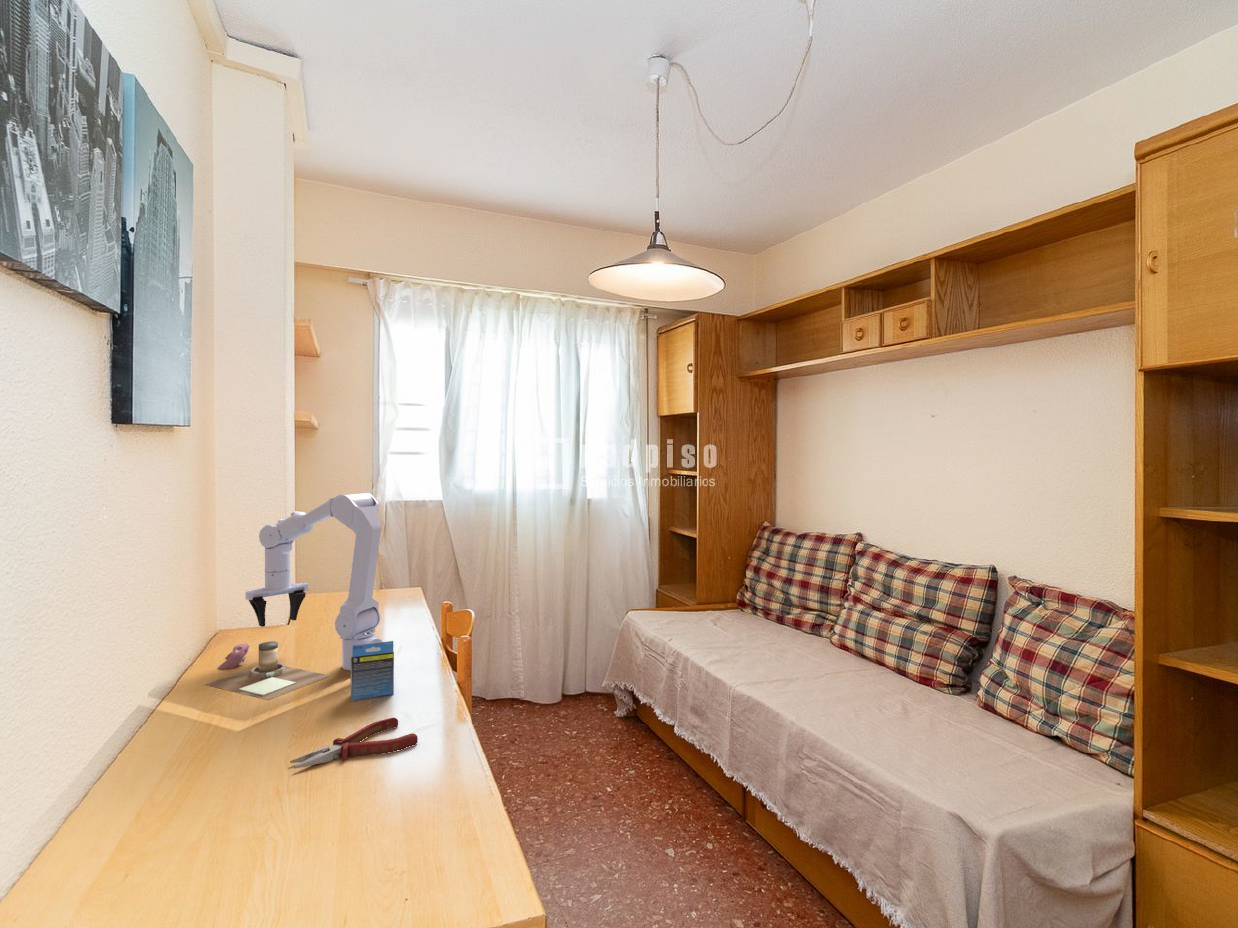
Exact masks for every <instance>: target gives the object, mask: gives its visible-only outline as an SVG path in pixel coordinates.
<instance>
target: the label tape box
mask: <svg viewBox="0 0 1238 928" xmlns="http://www.w3.org/2000/svg"><path fill="white" fill-rule="evenodd" d="M372 647H374V648H380V650H379V651H370V652H366V649H371V648H372ZM394 675H395V651H394V640H389V641H382V642H379V643H369V644H359V645H352V657H351V670H350V700H351V701H352V702H353V701H361V700H367V699H373V698H377V697H378V698H379V697H384V696H385V697H386V696H390V695H394V692H395V684H394V683H395V676H394Z"/></svg>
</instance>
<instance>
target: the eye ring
mask: <svg viewBox="0 0 1238 928" xmlns="http://www.w3.org/2000/svg"><path fill="white" fill-rule="evenodd" d="M285 666H286V665H285V663H280V662H278V670H275V671H270V672H259V665H257V667H256V666H253V667H254V668H253V667H252V668H253V669H252V670H251V676H252V677H253V678H257V679H258V678H270V677H275V676H278V675H281V674H283V673H284V672H285Z"/></svg>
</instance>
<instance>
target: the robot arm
mask: <svg viewBox="0 0 1238 928" xmlns="http://www.w3.org/2000/svg"><path fill="white" fill-rule="evenodd" d="M379 507H380V503H379V502H378V500H376V498H375V497H374V496H373V494H371V493H369V492H362V493H353V494H338V495H336V496H334V497H329V499H328V500H326V501H325V502H323V503H322V504H319V505H318V506H316V507H315V508H313V509H311V510H310V511H308V512H305V511H297V510H296V511H292V512H291V513H290V516H288V517H286V518H284V519H282V518H281V519H278V521H277V523H275V524H267V525H264V526H263V527H262V528H261V529H260V530H259V532H258V533H259V534H258V539H259V542H260V544H261V546H262V547H263V548H264V587H262V588H258V589H253V590H252V589H251V590H248V591H245V600H246V601H248V602H249V604H250V605H251V607H252V609H253V610H254V614H255V616H256V619H257V622H258V626H260V627H261V628H263V627H265V626H266V608H267V607H266V606H267V600H265V599H264V598H268V597H274V596H280V595H285V594H288V598H289V606H290V607H289V619H290V620H292V621H297V617H298V614H299V612H300V607H301V606H302V605H301V604H302V603H303V601H304V599H305V598H306V595H307V594H306V592H307V591H309V583H308V582H300V583H292V584H291V551H292V550H293V543H294V542H295V540H296V539H299V538H301V537H302V536H304V535H307V534H308V533H310V532H312V530H313V528H314V525H316V524H318V523H320V522H323V521H324V520H325V521H326V520H328V519H329V518H331V517H334V518H335V520H337V521H338V522H339V523H341V524H343V525H344V526H345V527H347V528H348V529H350V530H351V531H352V532H354V534H355V541H354V549H353V556H352V565H351V573H350V582H349V589H348V596H347V598H346V599H345V600H344V602H343V603H342V604H341V606H340V608H339V613H338V615H337V616H336V618H335V621H334V627H335V631H336V633H337V634H338V636H339V638H340V639H341V642H342V643H341V649H342V650H341V651H342V652H341V656H342V657H341V660H342V661H341V662H342V663H341V666H342V669H343V670H345V671H351V657H352V645H359V644H369V643H379V642H383V640H382V639H380V638H378V637H377V636H376V635H375V632H376V628H377V627H378V626H379V624H380V621H381V614H380V610H379V605H380V604H379V601H378V600H377V599H375V598H374V597H373V595H374V594H373V593H374V587H375V578H376V571H377V564H378V563H377V562H378V555H379V546H380V539H381V531H382V530H381V529H382V527H381V523H380V517H379ZM379 650H380V648H374V647H372V648H371V649H366V652H370V651H379Z"/></svg>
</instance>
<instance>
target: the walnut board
mask: <svg viewBox="0 0 1238 928" xmlns="http://www.w3.org/2000/svg"><path fill="white" fill-rule="evenodd" d="M257 666H258V665H257ZM257 666H253V667H251V668H248V669H245V670H241V671H239V672H235V673H233V674H229V675H227V676H223V677H219V678H217V679H214V680H210V681H208V682H205V683H203V684H202V685H203V686H208V687H212V688H216V689H219V690H220V689H221V690H224V691H228V692H232V693H237V694H241V695H245V696H249V697H253V698H257V699H260V700H261V699H262V700H265V701H270V700H272V699H275V698H278V697H281V696H283V695H285V694H288V693H291V692H293V691H296V690H299V689H300V688H304V687H306V686H310V685H311V684H313V683H316V682H317V683H318V682H319V681H322V680H324V679H327V678H329V677H331V676H332V675H331V674H326V673H320V672H316V671H311V670H307V669H306V670H305V669H301V668H297V667H291V666H286V665H285V672H284V673H283V674H281V675H278V676H275V677H274V678H279V679H283V680H288V681H292V682H296V684H294V685H291V686H289V687H286V688H283V689H281V690H278V691H276V692H273V693H270V694H268V695H265V696H261V695H256V694H252V693H248V692H244V691H240V690H239V689H240V688H243V687H246V686H248V685H251V684H254V683H257V682H260V681H263V680H265V679H268V678H258V679H257V678H253V677H252V676H251V670H252V669H253V668H254V667H257ZM270 678H271V677H270Z"/></svg>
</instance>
